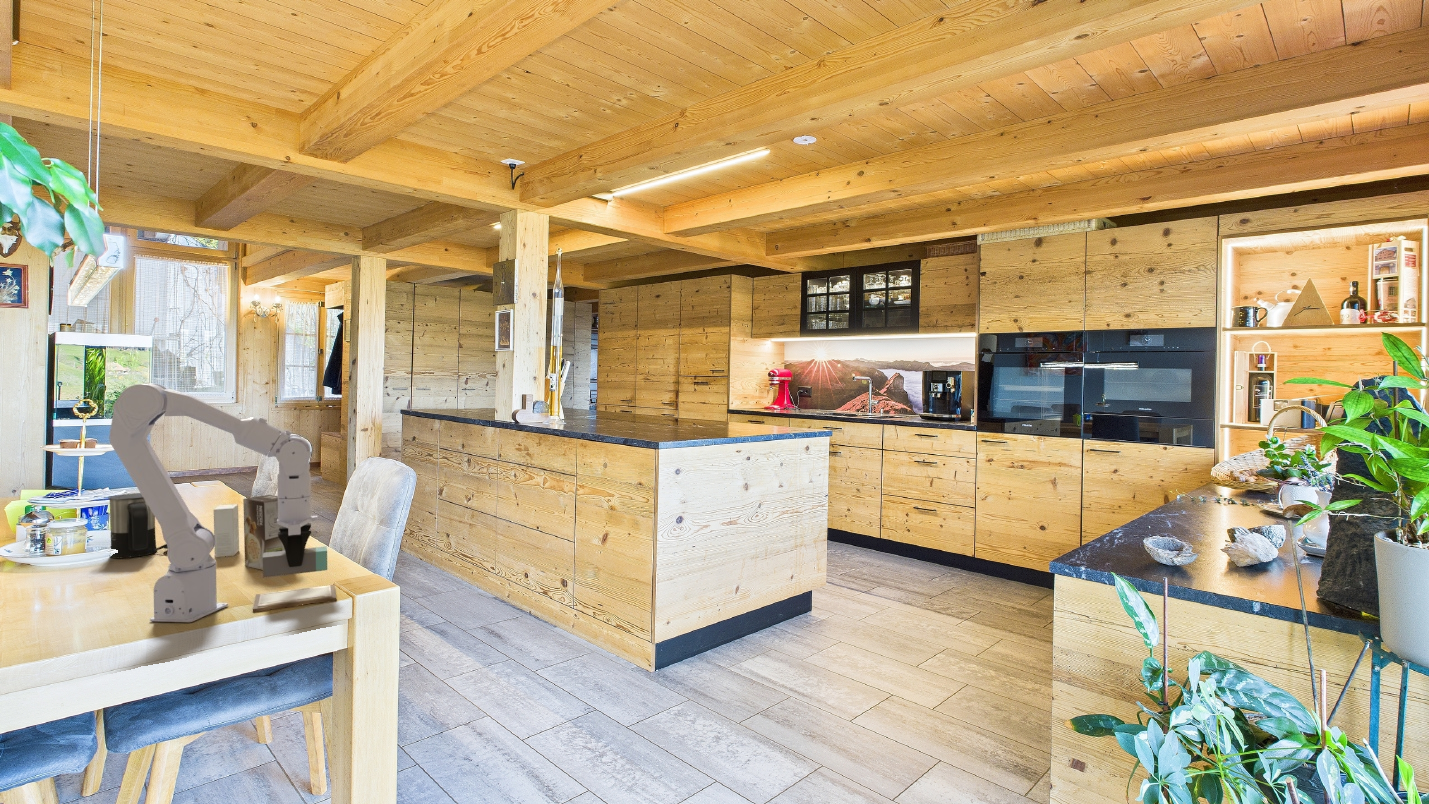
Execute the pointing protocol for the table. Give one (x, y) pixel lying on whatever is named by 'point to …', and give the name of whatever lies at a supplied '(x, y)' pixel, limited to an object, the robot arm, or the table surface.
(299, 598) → the wooden tray
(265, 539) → the coffee box
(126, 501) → the milk frother
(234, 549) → the skincare box
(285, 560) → the gray teal block
